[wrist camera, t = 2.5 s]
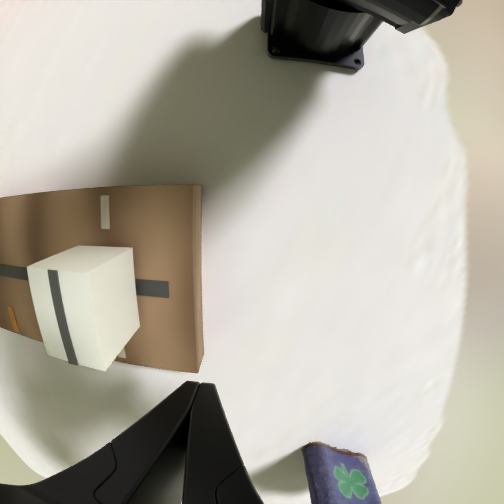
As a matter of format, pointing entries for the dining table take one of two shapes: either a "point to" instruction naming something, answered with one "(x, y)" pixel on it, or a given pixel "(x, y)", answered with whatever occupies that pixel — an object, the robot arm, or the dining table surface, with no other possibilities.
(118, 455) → the robot arm
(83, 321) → the fader knob
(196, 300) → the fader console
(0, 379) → the dining table surface
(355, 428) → the dining table surface
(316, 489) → the flask
